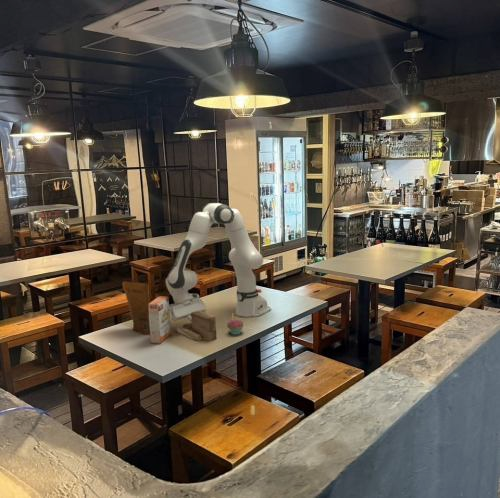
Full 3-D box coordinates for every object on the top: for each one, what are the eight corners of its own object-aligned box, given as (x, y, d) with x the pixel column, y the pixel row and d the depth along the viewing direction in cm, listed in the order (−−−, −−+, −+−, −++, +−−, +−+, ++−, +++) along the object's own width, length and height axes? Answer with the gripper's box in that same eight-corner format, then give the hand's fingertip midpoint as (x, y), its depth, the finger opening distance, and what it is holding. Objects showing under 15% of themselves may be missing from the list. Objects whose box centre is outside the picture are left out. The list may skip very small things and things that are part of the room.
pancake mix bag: (147, 337, 238) (143, 285, 233) (125, 329, 250) (120, 280, 245) (157, 333, 244) (153, 282, 238) (135, 326, 255) (131, 277, 250)
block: (200, 331, 243) (198, 310, 241) (216, 338, 233) (215, 316, 231) (192, 334, 240) (191, 312, 238) (208, 341, 230) (207, 318, 228)
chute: (194, 325, 253) (194, 321, 253) (216, 334, 239) (216, 329, 238) (176, 331, 245) (175, 327, 245) (198, 341, 231) (197, 336, 230)
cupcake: (237, 337, 234) (236, 315, 232) (224, 334, 238) (223, 312, 236) (246, 331, 241) (245, 310, 239) (233, 329, 246) (232, 307, 243)
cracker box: (161, 344, 229) (158, 304, 225) (150, 343, 230) (147, 303, 226) (171, 333, 242) (169, 296, 238) (161, 333, 243) (158, 295, 239)
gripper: (169, 302, 237) (180, 324, 232) (200, 293, 251) (212, 314, 246) (164, 308, 241) (176, 330, 236) (196, 299, 255) (207, 320, 250)
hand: (195, 322), depth 241 cm, fingers closed, pressing on block
